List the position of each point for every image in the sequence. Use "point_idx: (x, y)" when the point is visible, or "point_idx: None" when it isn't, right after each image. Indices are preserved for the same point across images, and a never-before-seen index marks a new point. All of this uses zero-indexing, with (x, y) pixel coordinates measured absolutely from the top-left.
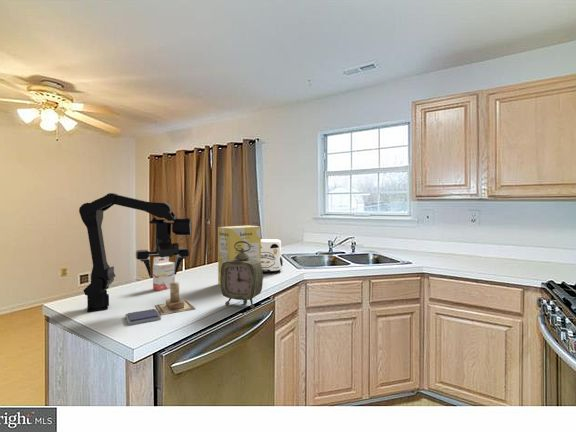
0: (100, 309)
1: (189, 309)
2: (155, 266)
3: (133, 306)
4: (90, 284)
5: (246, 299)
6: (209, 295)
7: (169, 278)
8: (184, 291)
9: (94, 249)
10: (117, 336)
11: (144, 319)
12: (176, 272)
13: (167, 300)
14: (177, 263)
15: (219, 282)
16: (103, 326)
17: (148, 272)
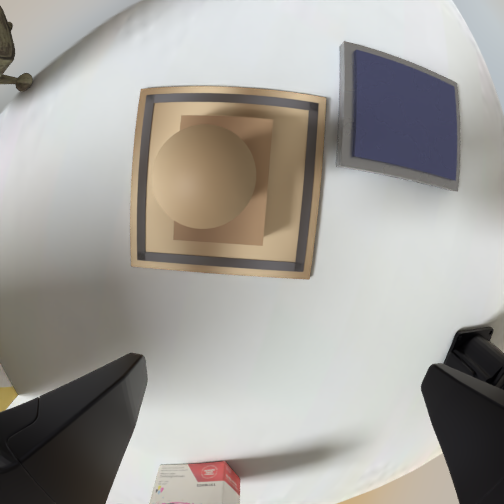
0: (471, 330)
1: (172, 87)
2: None
3: (387, 325)
4: None
5: (2, 12)
6: (34, 284)
7: (174, 495)
8: None
9: None
10: (464, 32)
11: (408, 61)
12: (115, 361)
13: (259, 225)
14: (23, 439)
15: (10, 393)
16: (498, 144)
17: (480, 380)
